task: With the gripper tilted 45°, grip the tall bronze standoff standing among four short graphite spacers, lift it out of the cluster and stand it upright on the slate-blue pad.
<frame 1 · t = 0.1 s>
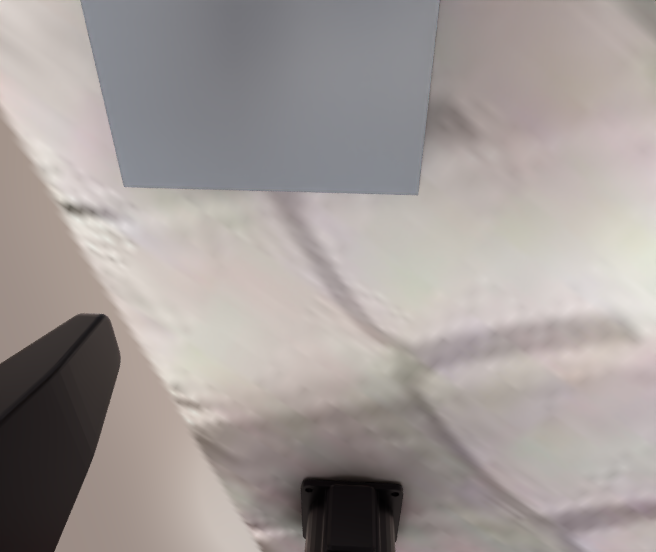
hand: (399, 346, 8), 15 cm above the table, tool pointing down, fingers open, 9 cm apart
slate pad: (263, 26, 19), on the table
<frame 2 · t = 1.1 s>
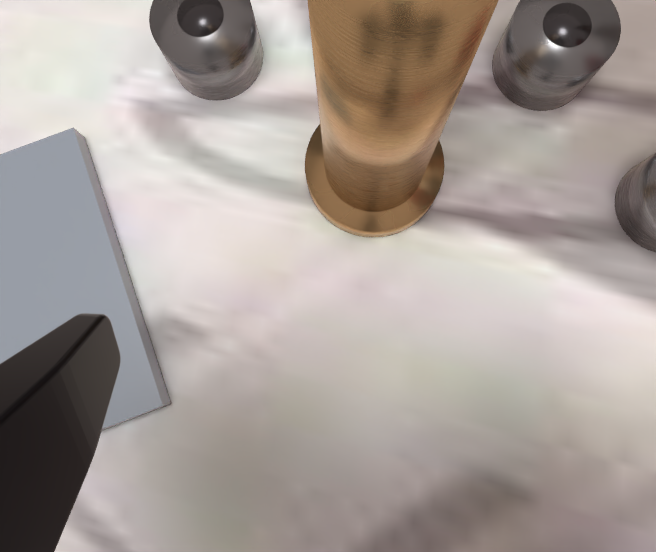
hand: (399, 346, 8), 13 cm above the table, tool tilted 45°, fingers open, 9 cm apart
bronze standoff: (373, 172, 23), on the table
spacer 2: (218, 58, 24), on the table
spacer 1: (538, 67, 23), on the table
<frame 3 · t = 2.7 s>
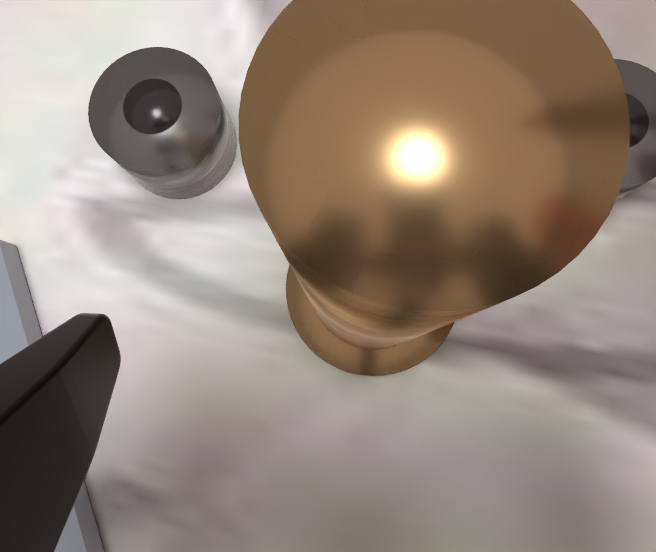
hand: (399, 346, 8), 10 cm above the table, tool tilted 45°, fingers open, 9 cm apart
bronze standoff: (371, 291, 18), on the table
spacer 2: (181, 146, 20), on the table
spacer 1: (574, 159, 19), on the table
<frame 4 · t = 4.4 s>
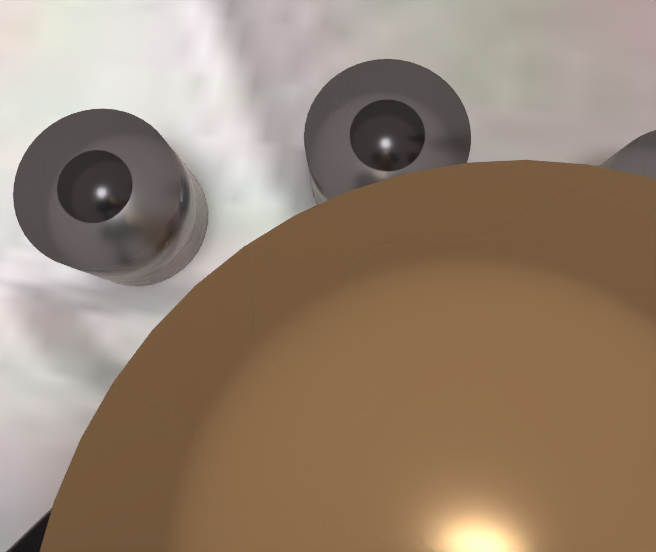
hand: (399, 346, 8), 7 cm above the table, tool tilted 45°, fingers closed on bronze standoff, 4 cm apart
bronze standoff: (373, 405, 15), on the table, touching gripper
spacer 2: (141, 219, 16), on the table
spacer 1: (622, 237, 15), on the table
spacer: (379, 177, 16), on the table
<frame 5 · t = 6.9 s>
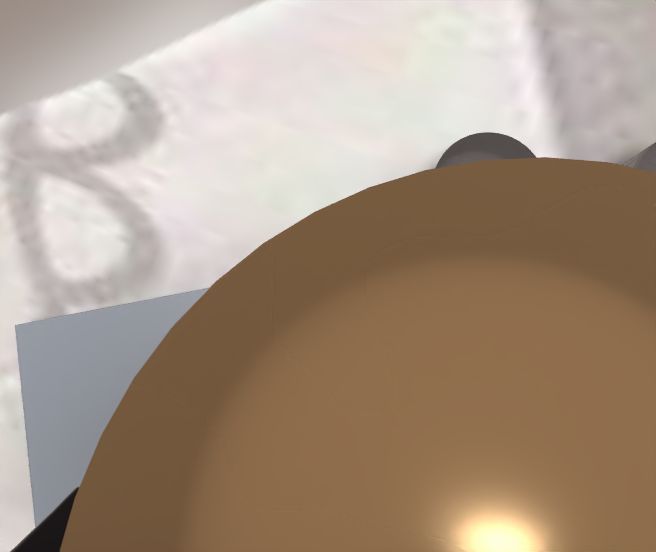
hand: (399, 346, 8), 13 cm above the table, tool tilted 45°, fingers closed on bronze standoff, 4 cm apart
bronze standoff: (373, 403, 15), point 6 cm above the table, touching gripper
spacer 2: (470, 208, 22), on the table
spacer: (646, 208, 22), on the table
slate pad: (196, 449, 21), on the table
when the fingers open (9 cm above the table, at t = 9.3 s): bronze standoff drops 1 cm, resting on slate pad.
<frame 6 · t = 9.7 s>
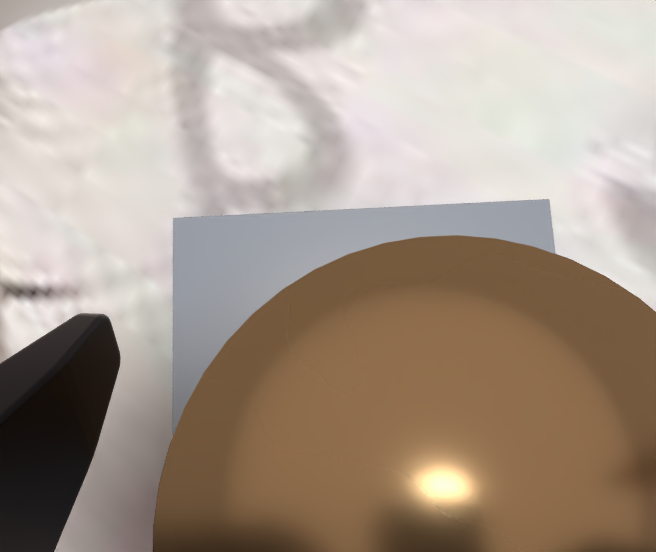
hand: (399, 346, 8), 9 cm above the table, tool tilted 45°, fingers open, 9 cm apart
bronze standoff: (371, 401, 16), point 1 cm above the table, touching slate pad
slate pad: (368, 398, 17), on the table
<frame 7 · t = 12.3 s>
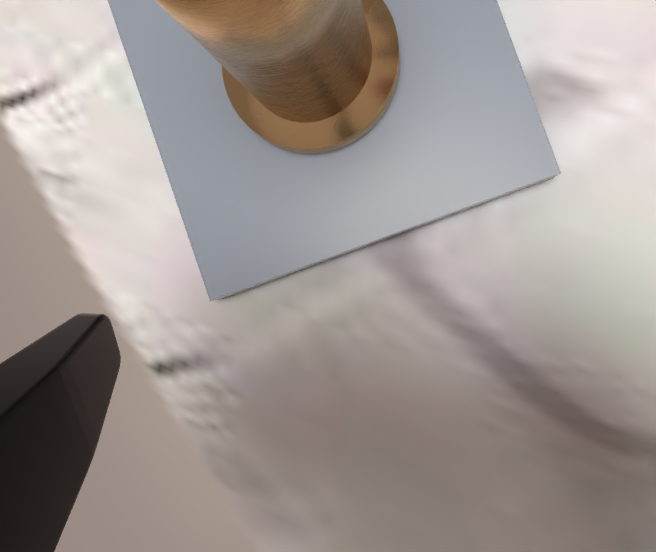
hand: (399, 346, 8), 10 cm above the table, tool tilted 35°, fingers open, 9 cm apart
bronze standoff: (314, 68, 18), point 1 cm above the table, touching slate pad
slate pad: (319, 78, 19), on the table
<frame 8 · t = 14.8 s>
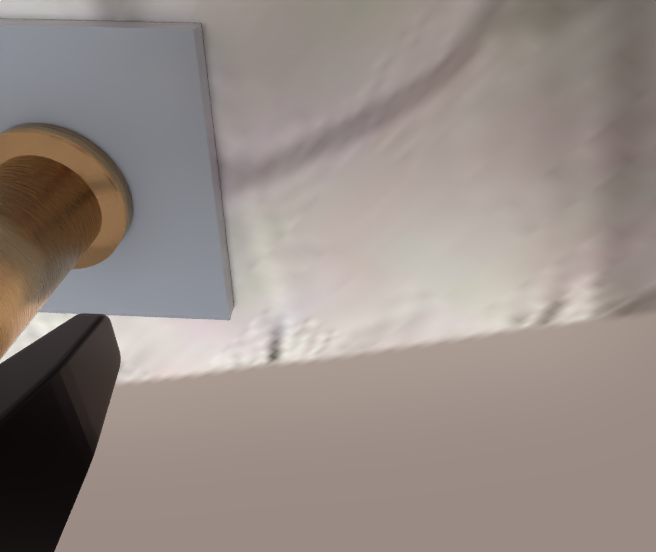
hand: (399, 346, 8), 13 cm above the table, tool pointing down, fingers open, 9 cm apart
bronze standoff: (59, 194, 21), point 1 cm above the table, touching slate pad
slate pad: (71, 182, 22), on the table
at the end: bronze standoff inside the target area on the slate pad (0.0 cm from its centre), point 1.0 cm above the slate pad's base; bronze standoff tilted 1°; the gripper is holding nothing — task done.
